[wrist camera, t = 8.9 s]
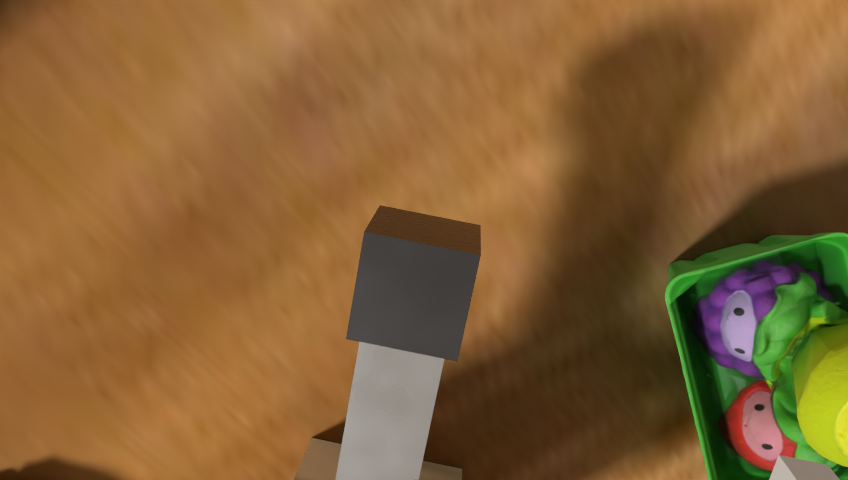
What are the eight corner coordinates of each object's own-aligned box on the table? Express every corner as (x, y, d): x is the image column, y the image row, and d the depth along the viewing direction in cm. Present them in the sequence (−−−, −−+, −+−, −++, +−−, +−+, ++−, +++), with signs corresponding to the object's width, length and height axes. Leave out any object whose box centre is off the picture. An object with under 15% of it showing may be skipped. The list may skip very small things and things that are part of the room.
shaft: (395, 617, 30) (384, 693, 27) (311, 599, 30) (289, 672, 27) (480, 225, 25) (480, 255, 22) (379, 205, 25) (364, 231, 22)
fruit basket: (633, 245, 33) (706, 344, 23) (830, 191, 32) (1008, 269, 21) (686, 453, 36) (774, 632, 25) (870, 412, 35) (1046, 581, 24)
